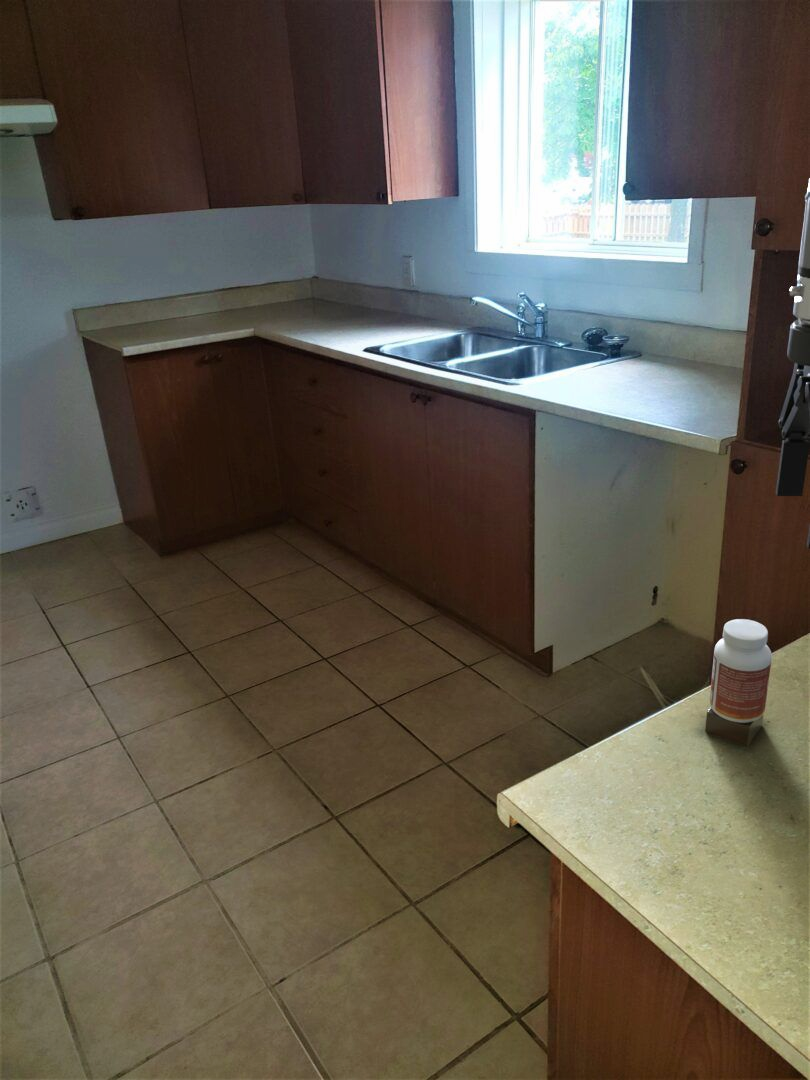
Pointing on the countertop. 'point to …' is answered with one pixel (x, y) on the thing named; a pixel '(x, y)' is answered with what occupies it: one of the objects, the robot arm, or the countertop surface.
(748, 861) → the countertop surface
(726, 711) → the pill bottle
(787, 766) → the countertop surface
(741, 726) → the walnut block
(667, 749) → the countertop surface
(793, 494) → the robot arm
